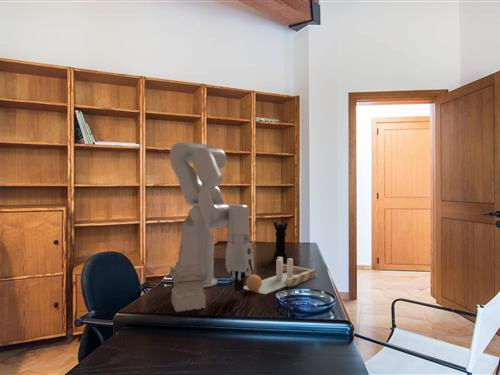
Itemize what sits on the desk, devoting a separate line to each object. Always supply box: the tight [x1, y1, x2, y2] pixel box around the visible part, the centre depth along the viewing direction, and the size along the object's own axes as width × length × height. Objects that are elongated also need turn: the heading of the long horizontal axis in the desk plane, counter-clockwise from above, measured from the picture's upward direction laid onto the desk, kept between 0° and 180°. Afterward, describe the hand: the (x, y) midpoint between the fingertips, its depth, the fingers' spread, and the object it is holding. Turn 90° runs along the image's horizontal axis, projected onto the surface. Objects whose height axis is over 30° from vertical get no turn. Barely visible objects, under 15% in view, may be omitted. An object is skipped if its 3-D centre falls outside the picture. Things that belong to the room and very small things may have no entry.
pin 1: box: [277, 257, 284, 278], centre depth 152 cm, size 2×2×9 cm
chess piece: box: [272, 221, 289, 262], centre depth 190 cm, size 8×8×20 cm
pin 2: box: [286, 258, 294, 278], centre depth 149 cm, size 2×2×9 cm
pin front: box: [275, 259, 282, 282], centre depth 147 cm, size 2×2×9 cm
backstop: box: [283, 263, 317, 288], centre depth 153 cm, size 21×18×3 cm
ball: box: [245, 274, 263, 292], centre depth 134 cm, size 6×6×6 cm
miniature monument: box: [169, 215, 207, 312], centre depth 117 cm, size 10×10×30 cm
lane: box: [243, 272, 298, 295], centre depth 147 cm, size 34×12×1 cm, turn 141°
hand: (239, 290), depth 126 cm, fingers closed
